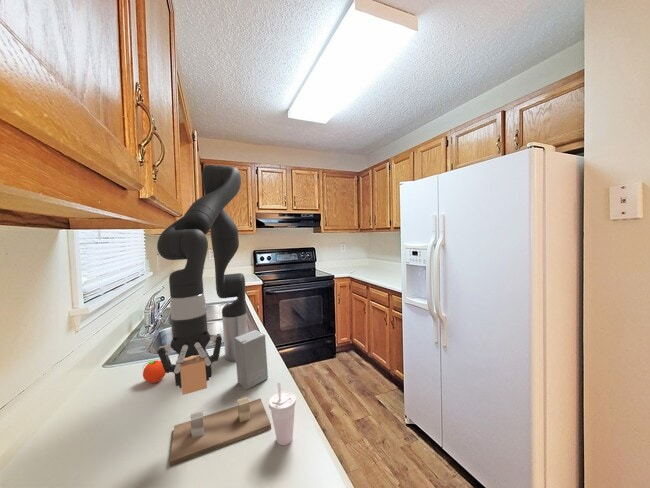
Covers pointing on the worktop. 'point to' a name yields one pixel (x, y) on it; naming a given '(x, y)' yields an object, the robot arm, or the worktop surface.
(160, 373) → the tomato
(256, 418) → the post board
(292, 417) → the smoothie
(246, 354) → the skincare box
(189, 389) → the light orange block
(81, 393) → the worktop surface
